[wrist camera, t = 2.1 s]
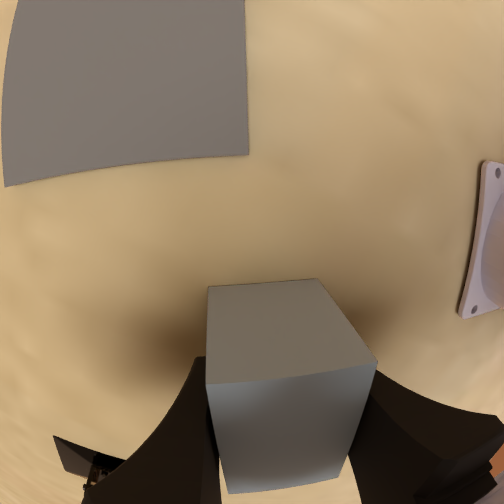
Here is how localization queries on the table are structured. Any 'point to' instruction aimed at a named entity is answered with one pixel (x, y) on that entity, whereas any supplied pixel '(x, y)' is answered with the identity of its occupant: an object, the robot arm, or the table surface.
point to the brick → (283, 383)
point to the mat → (122, 84)
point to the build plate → (85, 462)
